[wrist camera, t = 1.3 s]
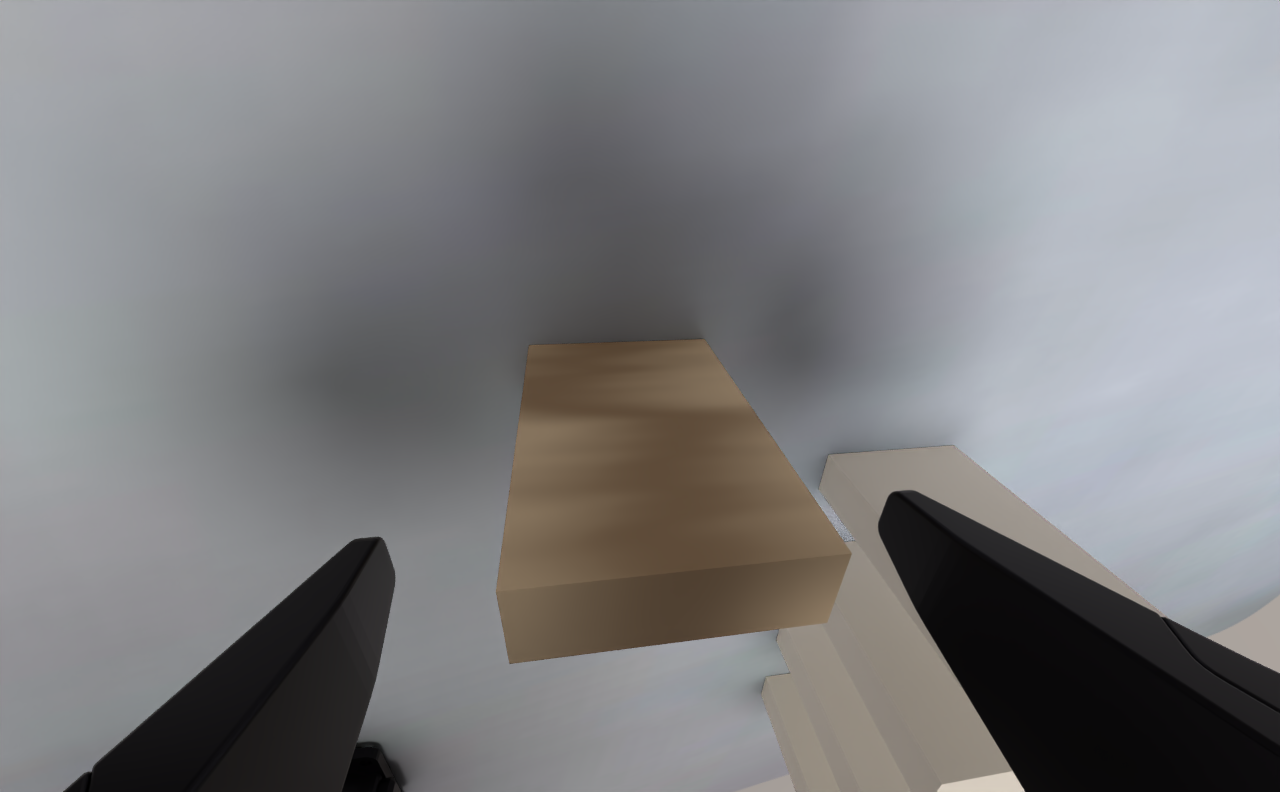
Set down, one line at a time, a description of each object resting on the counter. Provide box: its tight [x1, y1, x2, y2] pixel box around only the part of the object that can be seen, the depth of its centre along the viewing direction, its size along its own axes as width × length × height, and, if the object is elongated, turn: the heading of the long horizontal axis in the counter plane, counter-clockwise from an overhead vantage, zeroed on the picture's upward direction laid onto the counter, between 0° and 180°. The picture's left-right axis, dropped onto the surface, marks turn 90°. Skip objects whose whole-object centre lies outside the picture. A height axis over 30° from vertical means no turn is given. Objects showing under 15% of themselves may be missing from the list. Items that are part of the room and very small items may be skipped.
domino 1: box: [761, 673, 840, 792], centre depth 21 cm, size 5×2×8 cm, turn 88°
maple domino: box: [496, 339, 852, 664], centre depth 10 cm, size 5×2×8 cm, turn 88°
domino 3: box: [819, 445, 1169, 694], centre depth 14 cm, size 5×2×8 cm, turn 88°
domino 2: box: [776, 624, 911, 792], centre depth 19 cm, size 5×2×8 cm, turn 89°
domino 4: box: [822, 541, 1024, 792], centre depth 16 cm, size 5×2×8 cm, turn 89°
